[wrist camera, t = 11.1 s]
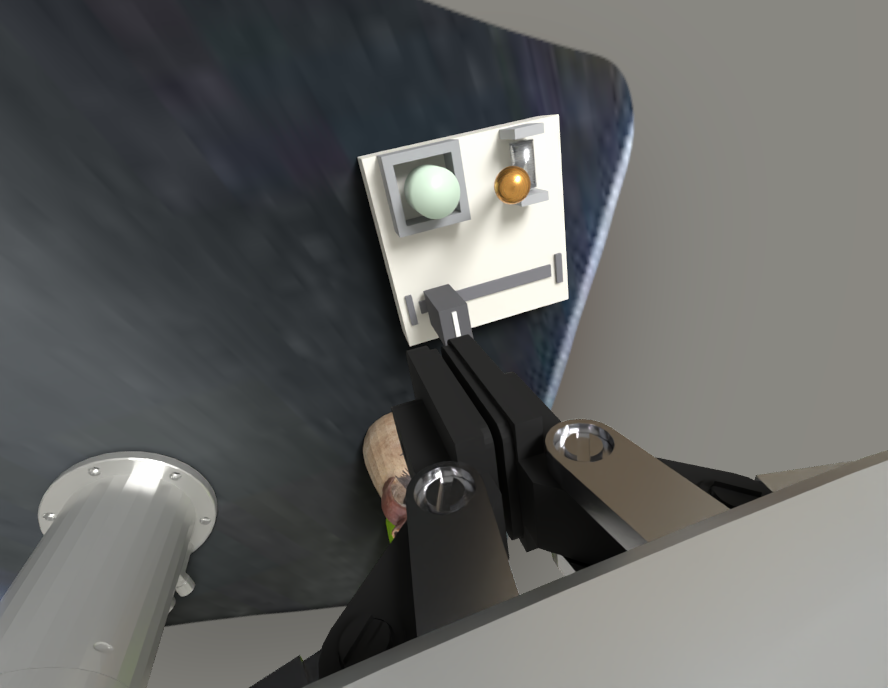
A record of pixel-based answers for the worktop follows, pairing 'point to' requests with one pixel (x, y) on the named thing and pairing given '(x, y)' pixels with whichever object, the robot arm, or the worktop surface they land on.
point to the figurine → (387, 469)
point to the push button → (432, 191)
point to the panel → (472, 226)
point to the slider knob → (447, 313)
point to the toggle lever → (517, 173)
